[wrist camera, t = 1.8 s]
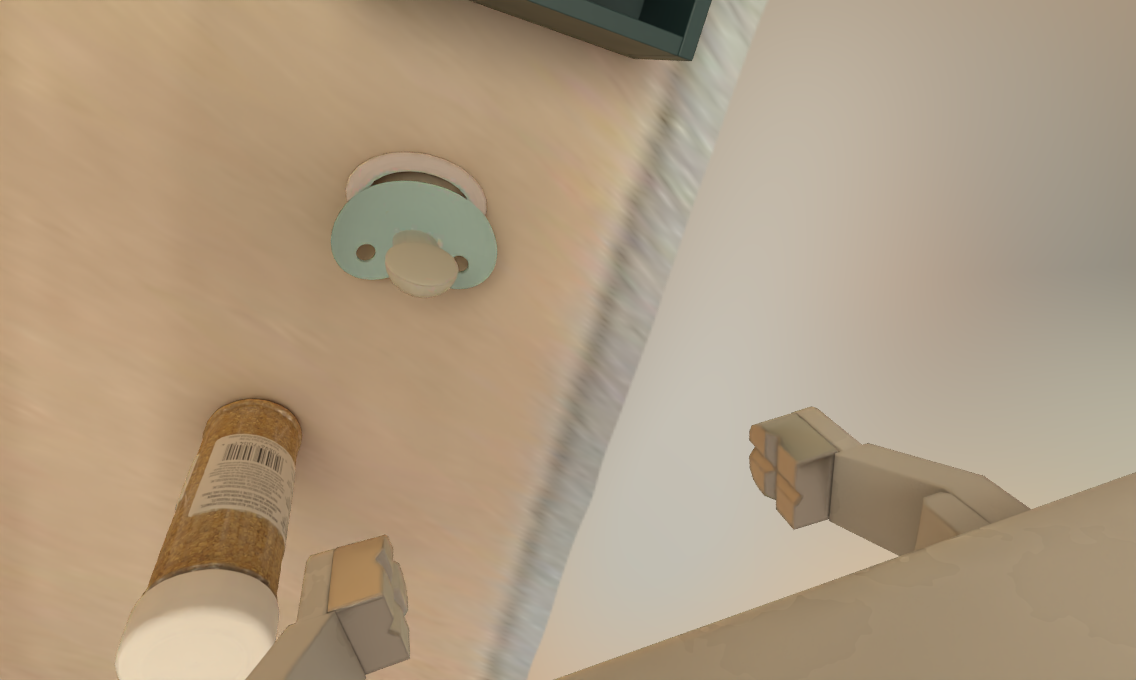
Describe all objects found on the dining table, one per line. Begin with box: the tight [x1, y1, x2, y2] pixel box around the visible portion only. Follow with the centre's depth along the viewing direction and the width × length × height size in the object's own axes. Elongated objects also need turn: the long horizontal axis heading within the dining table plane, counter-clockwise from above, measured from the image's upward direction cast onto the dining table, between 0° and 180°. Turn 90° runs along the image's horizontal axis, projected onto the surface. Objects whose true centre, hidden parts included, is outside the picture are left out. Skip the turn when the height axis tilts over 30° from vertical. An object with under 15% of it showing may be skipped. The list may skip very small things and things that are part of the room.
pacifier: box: [331, 152, 497, 298], centre depth 26 cm, size 7×6×6 cm
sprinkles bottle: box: [115, 399, 302, 680], centre depth 25 cm, size 5×5×14 cm
